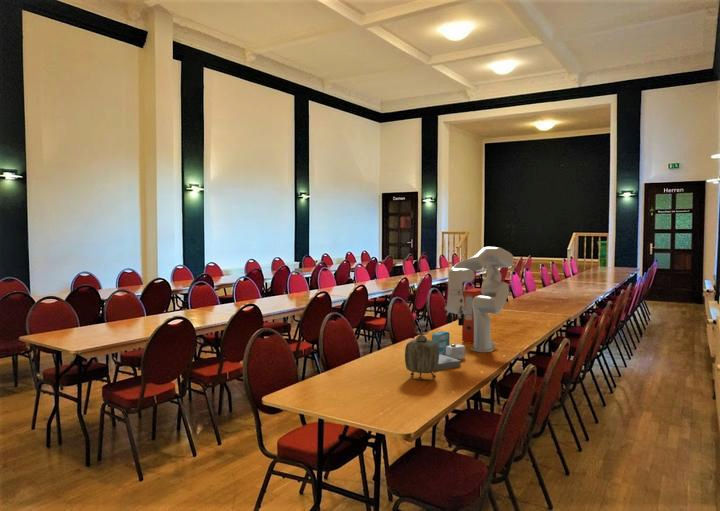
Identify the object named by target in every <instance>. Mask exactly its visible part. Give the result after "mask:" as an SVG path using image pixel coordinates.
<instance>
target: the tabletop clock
mask: <svg viewBox="0 0 720 511" xmlns="http://www.w3.org/2000/svg"><path fill="white" fill-rule="evenodd" d="M417 328H424V329H426V330H427V332H425V333H423V331H420V332H417V331H416V329H417ZM413 330H414V333H415V334H417V335H418V336H416V338H415V339H412V340H409V341H408V343H406V345H405V349H404V363H405V368H406V370H408V371H409V372H410V376H412V377H413V376H414V375H415V373H418V374H419V376H418V380H420V381H422V380H423V377H422V374H431V377H432V378H433V379H435V378H436V374H434V373H433V372H434V371H435V369H436V368H437V366H438V362H439V350H438V345H437V342H435V341H432V339H427V338H428V337H426V336H425V335H427V334H429V328H428V327H426V326H424V325H417V326H416V327H414V329H413Z"/></svg>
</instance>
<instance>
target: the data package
mask: <svg viewBox="0 0 720 511" xmlns="http://www.w3.org/2000/svg"><path fill="white" fill-rule="evenodd" d="M431 340H432V341H435V342H437V345H438V350H439V355H440V354H442V355H443V354H444V355H446V354H445V353H446V346H450V332H449V331H443V330H441V331H438V332H435V333H433V334H432V335H431Z"/></svg>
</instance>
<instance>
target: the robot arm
mask: <svg viewBox="0 0 720 511" xmlns="http://www.w3.org/2000/svg"><path fill="white" fill-rule="evenodd" d="M514 263H515V258H514V255H513V254H512V253H511V252H510V251H508V250H505V249H504V248H503V247H499V246H497V247H496V246H485V247H481V249H480V250H478V251H477V252H476V253H475V254H474V255H473V256H471V257H469V258H466V259H463V260H461V261H459V262H457V263H455V264H454V265H453V266H452V267H451V268H450V270H448V282H447V284H448V287H447V288H448V290H447V291H448V295H447V301H446V306H444V311H445V314H446V315H445V316H446V323H447V324H450V323H453V314H454V315H457V316H458V320H457V322H458V326H462V325H464V318H465V315H466V312H467V311H466V310H465V304H464V297H463V291H464V290H463V288H464V287H463V283H471V282H473V281H474V279H475V277H476V275H475V274H476V273H475V272H477V271H481V270H483V269H484V267H486V271H487V273H486V277H485V279H484V281H483V283H482V285H481V288H480V289H481V293H482V295H484V296H476V297H474V299H473V301H472V307H473V313H474V344H473V346H471V348H470V350H471V351H472V350H473V351H472V352H475V351H476V352H477V353H491V352H493V351H494V348H493V346H494V347H495V346H497V345H498V343H497V341H496V342H492V341H491V340H492V339H491V338H492V335H491V334H492V329H491V328H492V327H491V326H492V321H491V320H492V319H491V316H490V315H489V314H494V315H498V314H500V313H501V312H502V310H503V308H504V307H505V304H506V302H507V298H508V296H509V293H510V288H509V285H508V283H507V282H505V281H501V280H502V274H501V272H500V270H499V268H510V267H512V266H513V265H514Z"/></svg>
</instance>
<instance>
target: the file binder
mask: <svg viewBox="0 0 720 511" xmlns="http://www.w3.org/2000/svg"><path fill="white" fill-rule="evenodd" d="M476 296H484V295H482V293H481V288H476V287H475V288H469V289H465V290H463V297H464V304H465V310H466V311H467V312H466V315H465V318H464V325H462V327H461V330H462V331H461V336H462V337H461V339H462V340H461V342H462V341H464V342H463V343H466V342H471V343H470V344H473V343H474V313H473V307H472V301H473V299H474V297H476Z"/></svg>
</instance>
